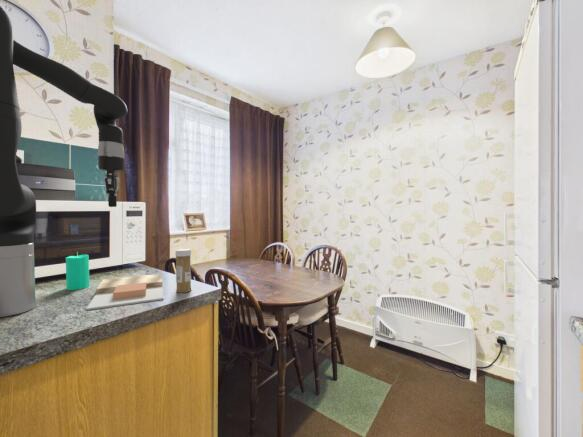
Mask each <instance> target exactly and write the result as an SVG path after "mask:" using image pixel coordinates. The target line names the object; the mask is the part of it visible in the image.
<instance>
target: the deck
mask: <svg viewBox="0 0 583 437" xmlns="http://www.w3.org/2000/svg"><path fill="white" fill-rule="evenodd" d="M145 282H146V288H151V287H159V286H162V287H163V276H162V273H156V274H146V275H135V276H124V277H123V276H122V277H115V278H103V279H102V280H101V282H100V283H99V284H98V286H97V287H96V289H95V295H96V294H100V293H108V292H114V291H115V288H116V286H118V285H127V284H136V283H145Z"/></svg>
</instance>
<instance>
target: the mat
mask: <svg viewBox="0 0 583 437" xmlns="http://www.w3.org/2000/svg"><path fill="white" fill-rule="evenodd" d="M163 288H164V287H163V285H162V286H159V287H151V288H146V296H140V297H133V298H125V299H117V300H113V293H114V292H108V293H100V294H96V293H95V295H94V296H93V298H92V299H91V301H90V302H89V303H88V305H87V306H86V307H85V310H86V311H91V310H92V311H93V310H99V309H107V308H115V307H121V306H128V305H129V306H130V305H134V304H142V303H148V302H149V303H150V302H157V301H163V300H164V291H163Z"/></svg>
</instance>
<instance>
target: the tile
mask: <svg viewBox="0 0 583 437" xmlns="http://www.w3.org/2000/svg"><path fill="white" fill-rule="evenodd" d="M140 296H146V282H145V283H136V284H127V285H118V286H116V288H115V291H114V293H113V300H117V299H125V298H133V297H140Z"/></svg>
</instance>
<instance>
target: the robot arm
mask: <svg viewBox="0 0 583 437" xmlns="http://www.w3.org/2000/svg"><path fill="white" fill-rule="evenodd" d="M13 26H14V25H13V24H12V21H11V18H10V17H9V15H8V14H7V12H6V11H5V10H4V9H3V7H2V6H1V5H0V318H4V317H10V316H14V315H19V314H22V313H25V312H28V311H31V310H32V309H34V308H35V307H36V273H35V272H36V271H35V244H34V240H35V239H34V238H35V233H36V229H37V201H36V196H35V193H34V192H33V191H32V190H31V188H30V187H28V186H27V185H25V184H22V183H21V181H20V178H19V177H20V176H19V172H18V167H17V153H18V148H19V145H20V142H21V135H22V118H21V111H20V110H21V109H20V104H19V98H18V91H17V89H18V88H17V83H16V82H17V81H16V76H15V71H14V66H15V67H18V68H20V69H22V70H24V71H26V72H27V73H29V74H32V75H34V76H36V77H37V78H39V79H41V80H42V81H45V82H46V83H48V84H50V85H52V86H54V87H56V88H57V89H58V90H60V91H61V92H63V93H65V94H66V95H68V96H70V97H72V98H73V99H75V100H77V101H78V102H80V103H82V104H87V105H88V104H89V105H92V106H93V115H94V119H95V123H96V126H97V128H98V147H97V161H98V162H97V163H98V165H97V166H98V167H97V168H98V169H99V170H100V171H104V172H106V174H105V175H104V177H103V179H104V184H105V185H104V186H105V190H106V191H105V193H106V194H107V196H108V197H107V199H108V200H107V202H108V204H107V205H108V207H109V208H115V207H117V203H118V200H117V197H118V194H119V189H120V188H119V187H120V186H119V184H120V176H119V175H118V172H119V173H121V172H125V170H126V168H125V167H126V166H125V149H124V148H125V147H124V132H123V129H122V128H121V127H119V126H117V122H116V120H119V119H122V118H125V117H126V115H128V107H127V104H126V103H125V102H124V100H123V99H121V98H120V97H119V96H118V95H116V94H114V93H113V92H110V91H108V90H107V89H104V88H102V87H100V86H98V85H96V84H93V83H92V82H91V81H89V80H88V79H86V78H85V77H84V76H82V75H80V74H79V73H78V72H77V71H75V70H73V69H72V68H70V67H68V66H66V65H64V64H63V63H61V62H59V61H56V60H54V59H51V58H48V57H46V56H44V55H41V54H40V53H37V52H35V51H33V50H31V49H29V48H27V47H26V46H24V45H22V44H20V43H19V42H17V40H15V39H14V27H13Z"/></svg>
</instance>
